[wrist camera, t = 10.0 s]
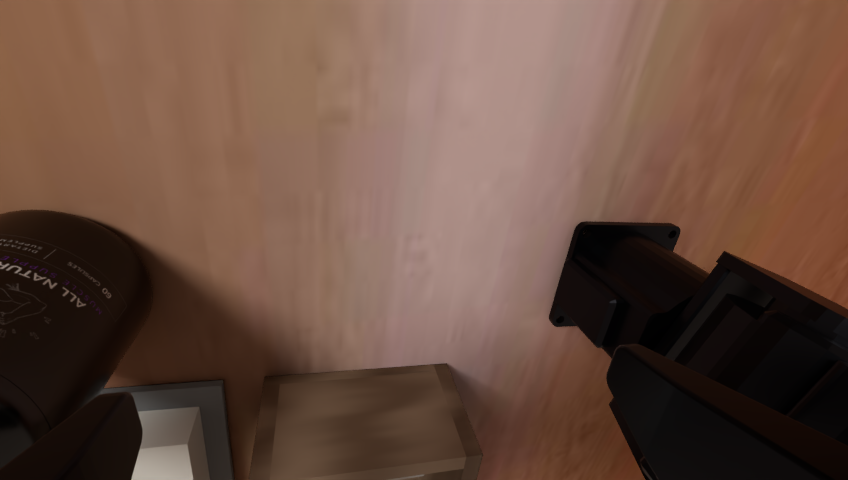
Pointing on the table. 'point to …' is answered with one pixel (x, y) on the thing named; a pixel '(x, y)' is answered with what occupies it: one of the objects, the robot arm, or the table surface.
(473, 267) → the table surface
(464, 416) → the parts box
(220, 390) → the mat
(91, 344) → the supplement bottle
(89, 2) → the table surface
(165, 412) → the lid
